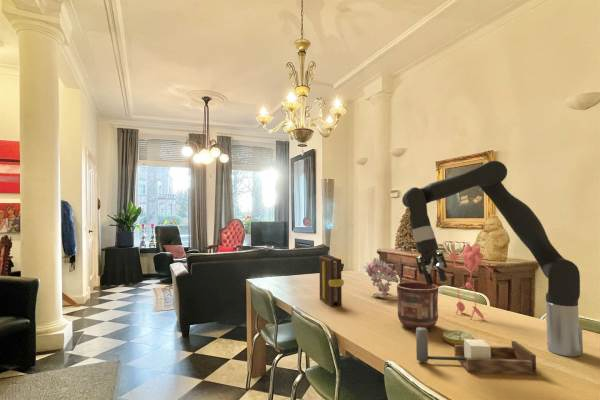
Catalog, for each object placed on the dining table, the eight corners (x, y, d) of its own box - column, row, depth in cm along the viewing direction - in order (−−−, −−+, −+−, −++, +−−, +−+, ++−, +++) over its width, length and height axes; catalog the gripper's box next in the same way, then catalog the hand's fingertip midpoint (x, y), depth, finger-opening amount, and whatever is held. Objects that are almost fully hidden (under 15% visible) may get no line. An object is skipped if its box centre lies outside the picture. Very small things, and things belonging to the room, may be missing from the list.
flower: (414, 296, 200) (402, 255, 212) (385, 296, 189) (374, 254, 201) (390, 304, 215) (380, 266, 227) (363, 305, 204) (354, 265, 216)
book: (316, 298, 202) (316, 256, 203) (330, 297, 205) (329, 255, 206) (331, 308, 181) (330, 260, 182) (345, 306, 184) (345, 259, 185)
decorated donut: (455, 336, 139) (455, 327, 139) (480, 345, 130) (479, 335, 130) (437, 340, 134) (437, 330, 135) (461, 350, 125) (461, 339, 125)
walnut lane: (515, 358, 117) (515, 341, 117) (536, 375, 105) (535, 355, 105) (454, 356, 119) (454, 339, 119) (468, 372, 107) (467, 352, 107)
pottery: (443, 334, 140) (442, 290, 141) (398, 331, 144) (398, 288, 145) (435, 321, 158) (434, 282, 159) (395, 319, 161) (395, 281, 162)
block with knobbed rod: (483, 358, 115) (482, 328, 115) (491, 366, 109) (490, 334, 109) (414, 355, 117) (414, 326, 118) (418, 363, 111) (418, 331, 112)
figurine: (484, 325, 152) (483, 246, 154) (442, 310, 176) (442, 242, 178) (510, 322, 157) (508, 245, 159) (466, 308, 181) (465, 241, 183)
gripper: (427, 240, 136) (439, 281, 132) (405, 243, 128) (417, 287, 124) (444, 235, 130) (457, 278, 127) (421, 238, 122) (435, 284, 118)
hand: (437, 282), depth 125 cm, fingers open, 8 cm apart
